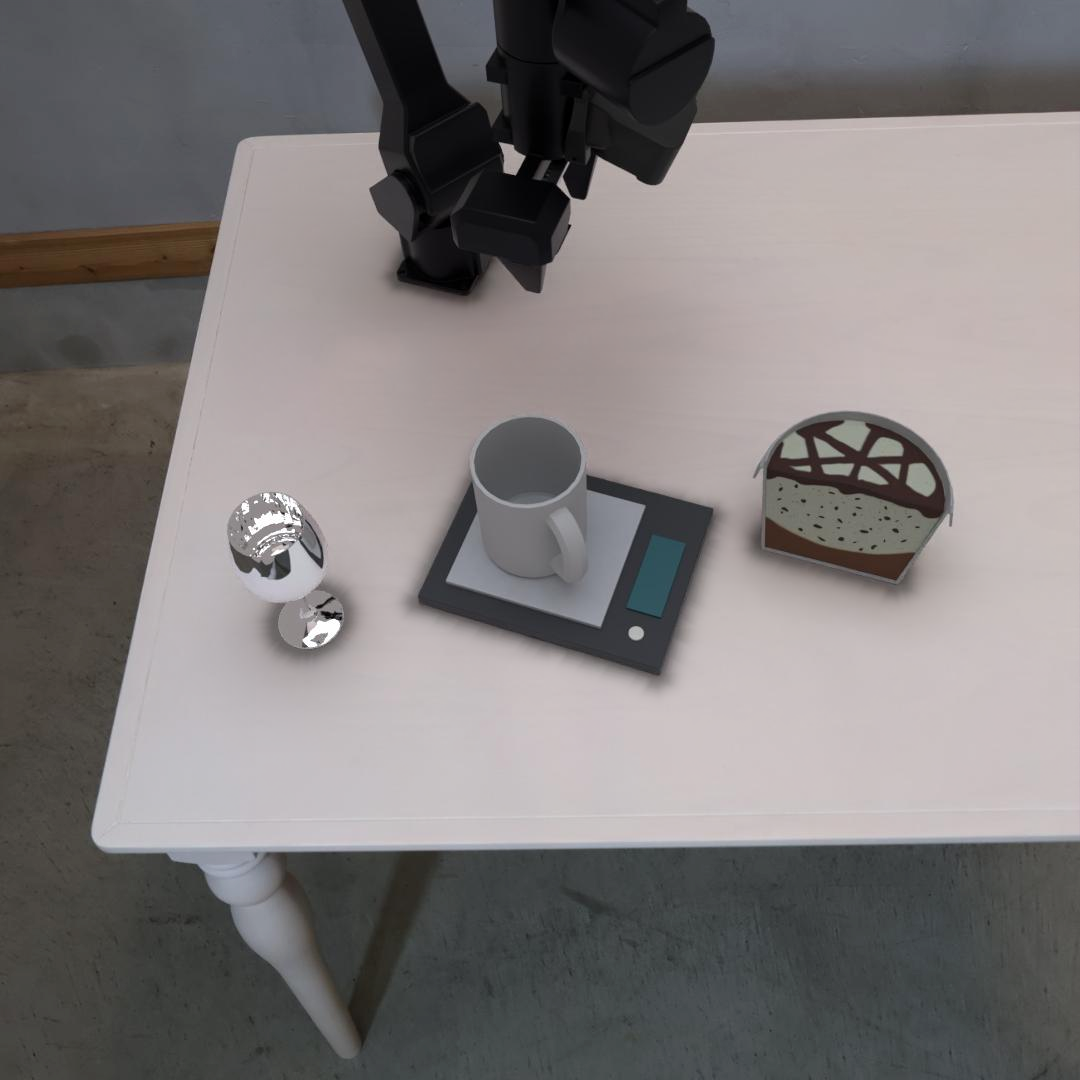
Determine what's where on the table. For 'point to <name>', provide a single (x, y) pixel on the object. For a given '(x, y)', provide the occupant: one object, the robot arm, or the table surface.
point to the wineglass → (285, 565)
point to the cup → (532, 496)
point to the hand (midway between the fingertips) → (556, 242)
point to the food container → (853, 494)
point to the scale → (603, 593)
